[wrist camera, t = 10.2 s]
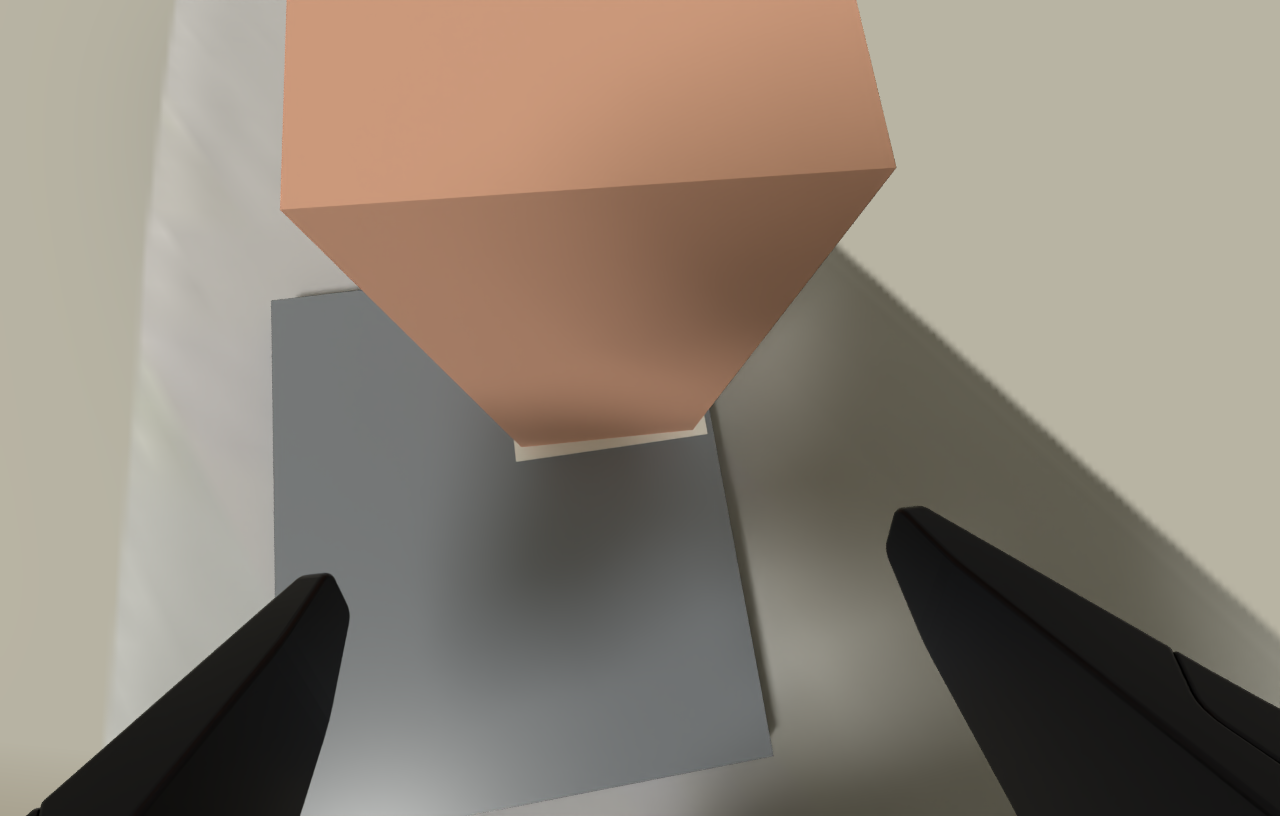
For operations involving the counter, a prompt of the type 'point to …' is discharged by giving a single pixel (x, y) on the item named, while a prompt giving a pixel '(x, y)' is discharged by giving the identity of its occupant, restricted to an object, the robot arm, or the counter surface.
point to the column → (581, 187)
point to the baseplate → (499, 585)
